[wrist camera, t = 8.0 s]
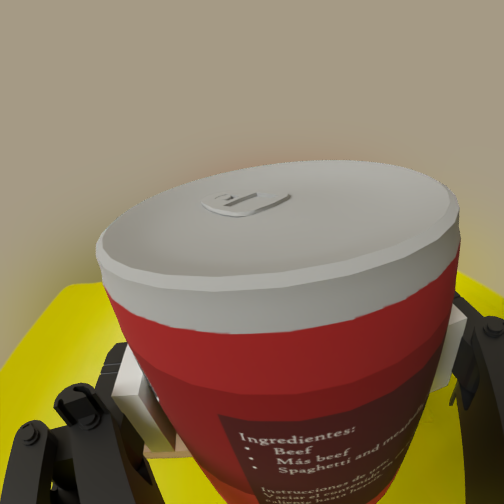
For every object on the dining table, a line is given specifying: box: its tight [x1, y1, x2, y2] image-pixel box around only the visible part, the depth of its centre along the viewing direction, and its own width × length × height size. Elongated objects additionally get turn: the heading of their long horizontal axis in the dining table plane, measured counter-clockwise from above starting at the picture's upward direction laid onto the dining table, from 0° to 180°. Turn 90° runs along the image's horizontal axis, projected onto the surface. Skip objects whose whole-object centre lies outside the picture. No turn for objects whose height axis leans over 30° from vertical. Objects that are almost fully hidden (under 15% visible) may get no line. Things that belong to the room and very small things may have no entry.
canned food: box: [96, 160, 461, 504], centre depth 9 cm, size 8×8×11 cm
